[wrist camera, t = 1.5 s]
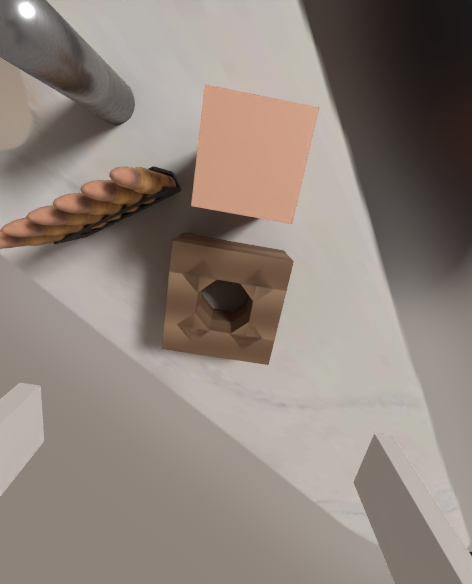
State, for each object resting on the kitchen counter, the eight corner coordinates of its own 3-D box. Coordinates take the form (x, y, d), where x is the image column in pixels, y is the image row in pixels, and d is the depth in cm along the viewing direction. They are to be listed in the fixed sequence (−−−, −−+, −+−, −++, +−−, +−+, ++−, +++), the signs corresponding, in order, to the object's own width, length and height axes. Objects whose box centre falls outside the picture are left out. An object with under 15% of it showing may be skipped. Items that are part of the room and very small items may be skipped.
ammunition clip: (85, 237, 27) (-26, 265, 16) (74, 219, 27) (-49, 235, 15) (181, 190, 26) (136, 184, 14) (172, 171, 25) (117, 148, 14)
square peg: (220, 137, 24) (204, 84, 13) (281, 149, 24) (319, 107, 13) (211, 202, 26) (191, 206, 15) (268, 213, 26) (292, 224, 15)
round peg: (94, 73, 23) (-49, -53, 11) (135, 81, 23) (35, -35, 12) (94, 119, 24) (-37, 47, 12) (133, 127, 24) (39, 62, 13)
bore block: (183, 233, 27) (172, 240, 22) (283, 250, 27) (293, 261, 23) (173, 325, 30) (161, 348, 25) (263, 339, 31) (268, 364, 26)
